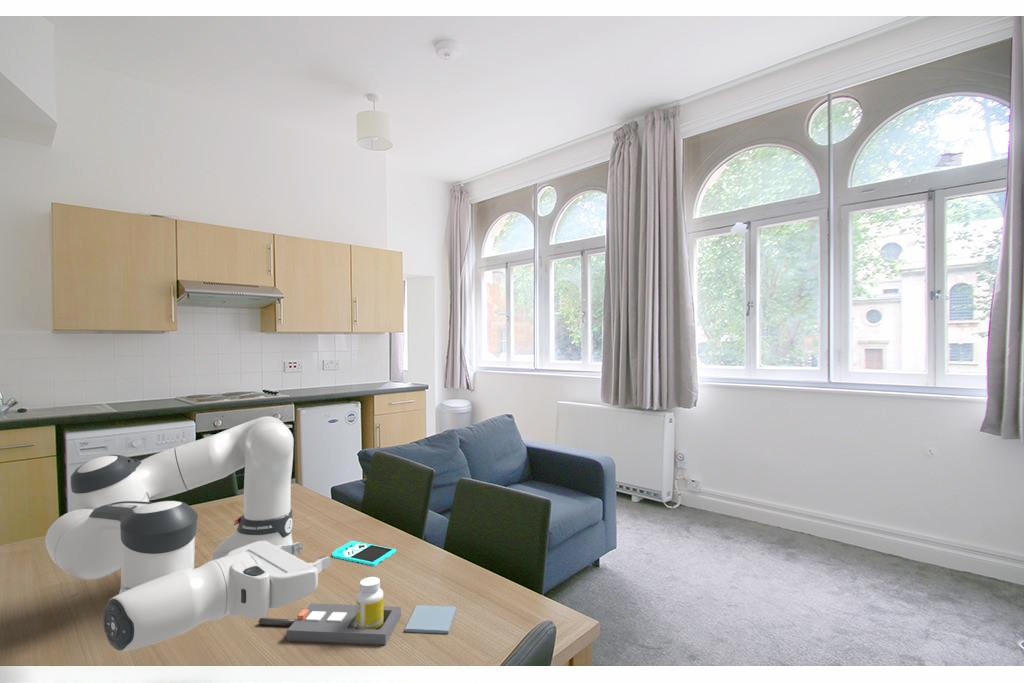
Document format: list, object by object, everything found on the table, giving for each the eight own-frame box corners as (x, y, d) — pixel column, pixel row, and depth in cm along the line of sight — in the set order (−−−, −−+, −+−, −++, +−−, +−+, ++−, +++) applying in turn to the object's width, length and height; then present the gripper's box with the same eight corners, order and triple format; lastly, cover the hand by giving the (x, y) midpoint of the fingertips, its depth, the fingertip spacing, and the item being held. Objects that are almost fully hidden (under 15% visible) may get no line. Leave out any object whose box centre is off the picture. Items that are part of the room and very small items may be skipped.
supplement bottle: (388, 624, 101) (388, 577, 101) (373, 639, 96) (373, 589, 96) (366, 619, 103) (366, 573, 103) (350, 633, 98) (350, 585, 98)
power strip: (245, 638, 96) (245, 624, 96) (273, 611, 106) (273, 598, 106) (385, 644, 94) (385, 630, 94) (400, 616, 104) (401, 603, 104)
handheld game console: (352, 544, 143) (352, 539, 143) (397, 553, 137) (397, 548, 137) (327, 558, 134) (327, 553, 134) (374, 568, 128) (374, 563, 128)
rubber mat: (404, 631, 98) (404, 628, 98) (416, 607, 107) (416, 605, 107) (448, 633, 98) (448, 630, 98) (456, 609, 107) (456, 606, 107)
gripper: (209, 582, 85) (286, 555, 96) (263, 623, 73) (345, 587, 84) (210, 546, 85) (286, 523, 96) (263, 581, 73) (345, 550, 84)
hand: (314, 553), depth 90 cm, fingers open, 8 cm apart
